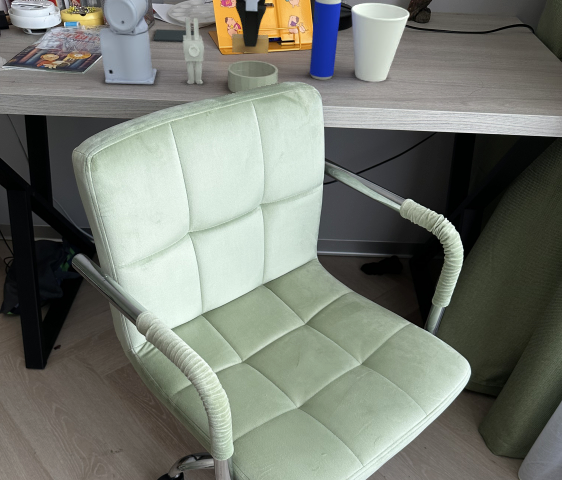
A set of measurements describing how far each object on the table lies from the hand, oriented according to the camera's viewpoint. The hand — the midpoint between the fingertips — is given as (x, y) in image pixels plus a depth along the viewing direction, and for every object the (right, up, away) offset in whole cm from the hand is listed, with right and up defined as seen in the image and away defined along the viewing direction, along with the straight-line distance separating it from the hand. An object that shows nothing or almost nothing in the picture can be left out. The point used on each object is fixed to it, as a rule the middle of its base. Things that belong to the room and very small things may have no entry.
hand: (250, 43), depth 112 cm
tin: (0, -6, +5) cm, 8 cm away
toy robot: (-11, -6, +5) cm, 14 cm away
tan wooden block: (0, -1, +1) cm, 1 cm away
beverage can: (+15, -1, +12) cm, 19 cm away
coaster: (-20, +16, +26) cm, 36 cm away
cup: (+26, 0, +13) cm, 29 cm away
